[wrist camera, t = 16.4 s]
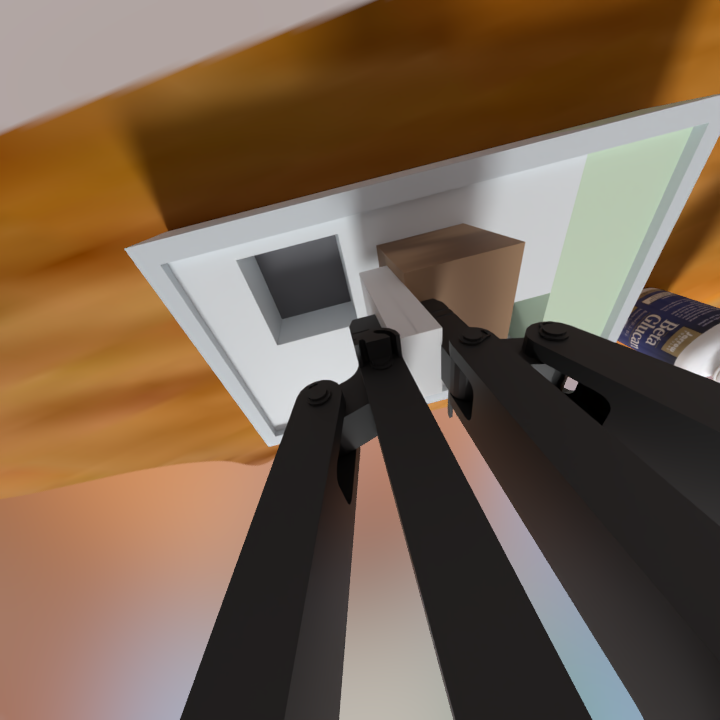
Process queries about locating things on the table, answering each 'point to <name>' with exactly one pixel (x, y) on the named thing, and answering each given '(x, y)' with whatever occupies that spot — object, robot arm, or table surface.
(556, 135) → the board
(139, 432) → the table surface
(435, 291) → the walnut block
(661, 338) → the pill bottle
